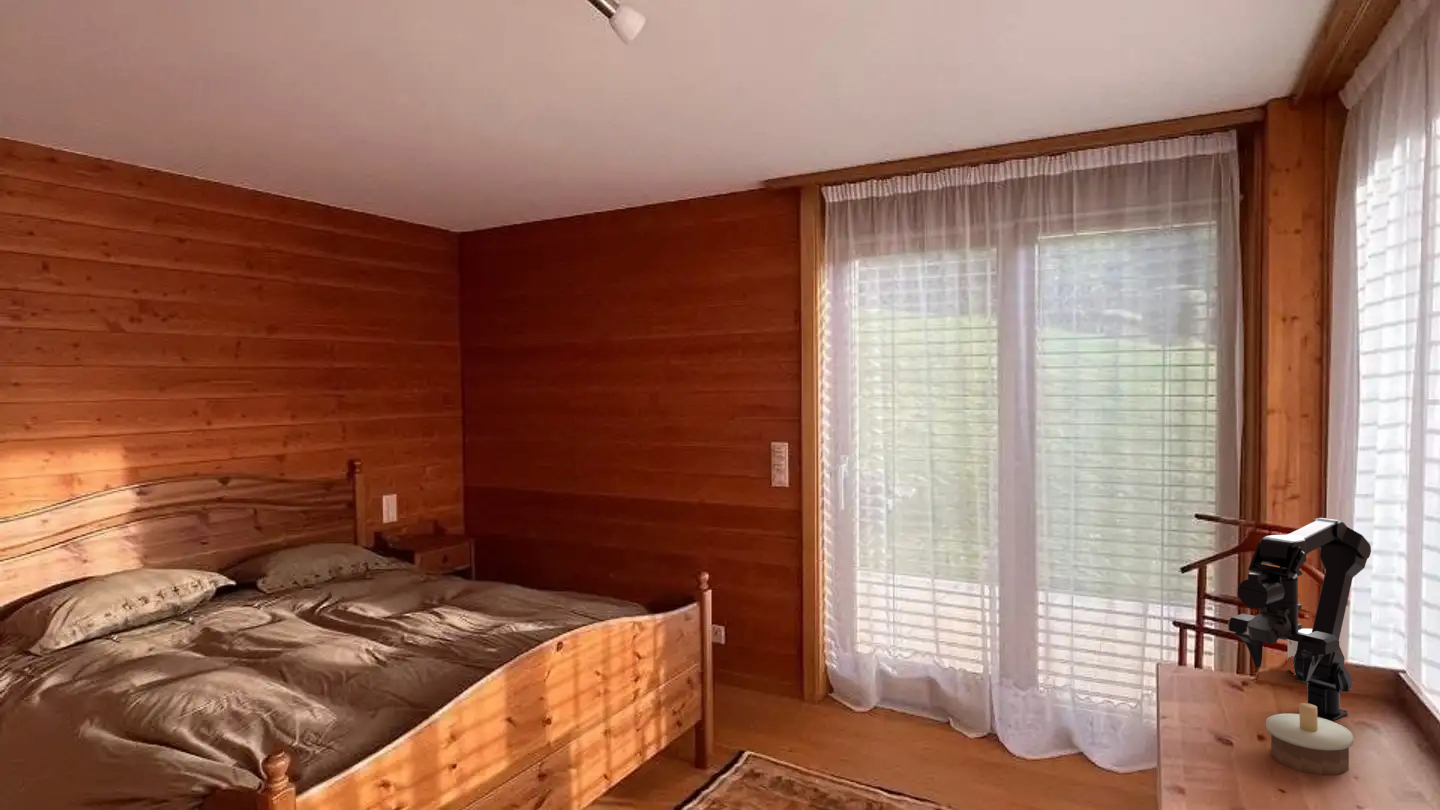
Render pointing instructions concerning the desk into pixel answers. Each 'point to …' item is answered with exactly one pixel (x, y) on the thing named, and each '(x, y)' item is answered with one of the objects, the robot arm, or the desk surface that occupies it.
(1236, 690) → the desk surface
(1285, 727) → the lid
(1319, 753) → the box
